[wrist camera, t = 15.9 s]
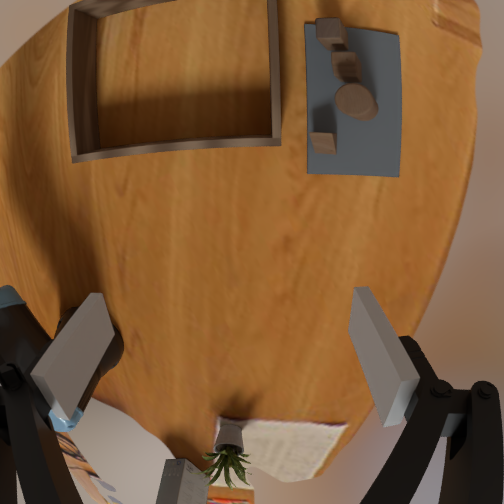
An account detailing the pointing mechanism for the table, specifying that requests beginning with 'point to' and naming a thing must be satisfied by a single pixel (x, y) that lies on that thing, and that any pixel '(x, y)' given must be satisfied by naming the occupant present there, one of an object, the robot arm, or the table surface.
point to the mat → (348, 128)
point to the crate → (85, 96)
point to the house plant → (227, 455)
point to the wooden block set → (345, 70)
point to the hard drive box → (182, 484)
